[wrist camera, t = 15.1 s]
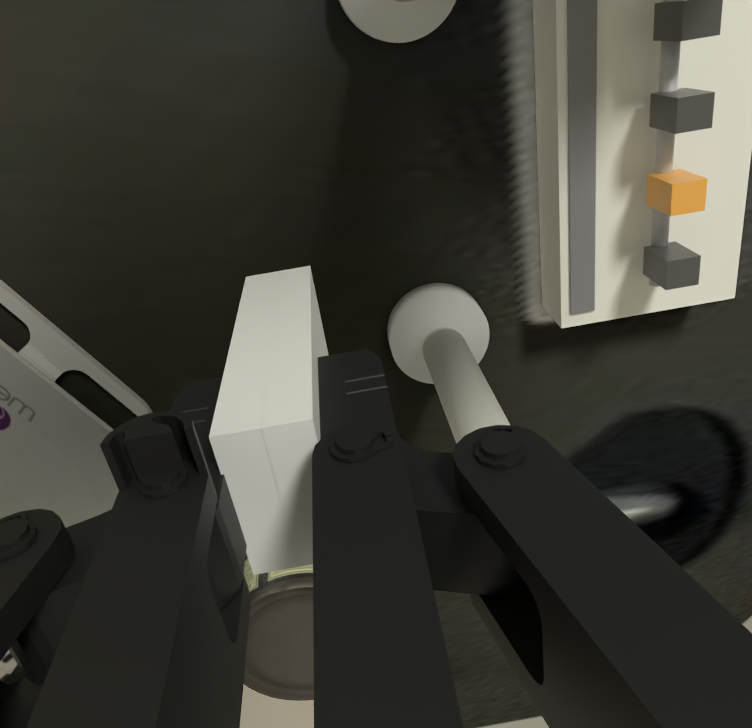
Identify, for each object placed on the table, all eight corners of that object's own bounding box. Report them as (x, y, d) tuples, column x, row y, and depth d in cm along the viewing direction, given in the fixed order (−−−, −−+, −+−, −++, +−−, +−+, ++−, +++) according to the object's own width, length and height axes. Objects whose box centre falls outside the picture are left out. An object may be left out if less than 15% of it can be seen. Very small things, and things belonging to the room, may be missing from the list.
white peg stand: (406, 270, 46) (515, 515, 23) (497, 298, 47) (685, 552, 24) (373, 357, 48) (441, 655, 25) (460, 381, 50) (597, 680, 27)
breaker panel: (531, -46, 38) (556, -54, 34) (734, -79, 38) (781, -91, 34) (542, 306, 48) (562, 329, 44) (702, 278, 48) (736, 298, 44)
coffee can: (366, 549, 57) (384, 696, 44) (244, 554, 56) (227, 707, 43) (370, 449, 52) (392, 581, 40) (237, 452, 51) (216, 589, 38)
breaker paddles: (651, -15, 35) (684, -19, 32) (687, -21, 35) (725, -26, 32) (638, 283, 43) (665, 303, 40) (668, 278, 43) (697, 297, 40)
